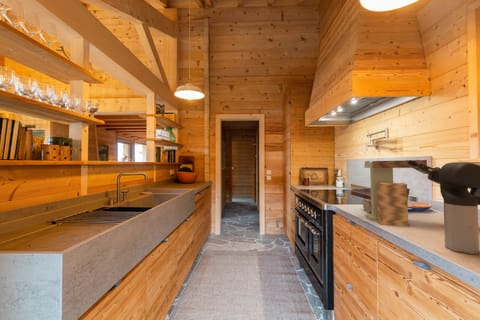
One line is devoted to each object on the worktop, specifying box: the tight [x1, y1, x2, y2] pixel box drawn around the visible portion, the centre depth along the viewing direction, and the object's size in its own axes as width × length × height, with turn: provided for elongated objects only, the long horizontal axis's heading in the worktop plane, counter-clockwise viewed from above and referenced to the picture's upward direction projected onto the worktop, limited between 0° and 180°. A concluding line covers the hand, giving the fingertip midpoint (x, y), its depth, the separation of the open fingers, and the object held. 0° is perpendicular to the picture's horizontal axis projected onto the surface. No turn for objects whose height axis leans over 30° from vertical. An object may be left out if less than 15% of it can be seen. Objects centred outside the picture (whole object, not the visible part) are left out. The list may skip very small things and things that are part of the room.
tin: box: [362, 198, 371, 214], centre depth 147 cm, size 15×3×8 cm, turn 168°
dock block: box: [376, 182, 410, 228], centre depth 118 cm, size 13×9×22 cm, turn 69°
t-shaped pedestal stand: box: [364, 160, 394, 222], centre depth 128 cm, size 16×10×34 cm, turn 69°
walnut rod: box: [371, 159, 428, 169], centre depth 118 cm, size 24×4×4 cm, turn 69°
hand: (407, 161), depth 117 cm, fingers closed on walnut rod, 4 cm apart
